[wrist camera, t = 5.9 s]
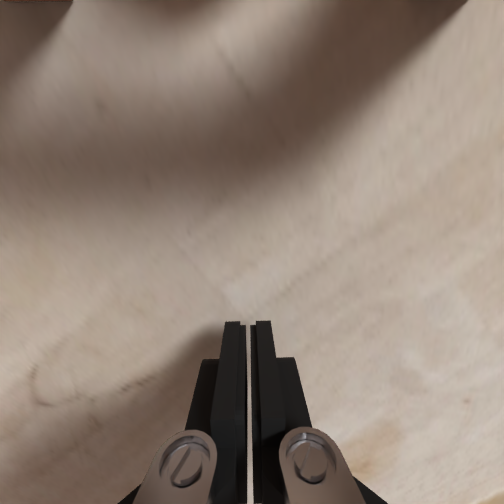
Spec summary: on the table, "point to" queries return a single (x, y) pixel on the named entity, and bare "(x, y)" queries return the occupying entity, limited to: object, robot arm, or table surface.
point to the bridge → (38, 0)
